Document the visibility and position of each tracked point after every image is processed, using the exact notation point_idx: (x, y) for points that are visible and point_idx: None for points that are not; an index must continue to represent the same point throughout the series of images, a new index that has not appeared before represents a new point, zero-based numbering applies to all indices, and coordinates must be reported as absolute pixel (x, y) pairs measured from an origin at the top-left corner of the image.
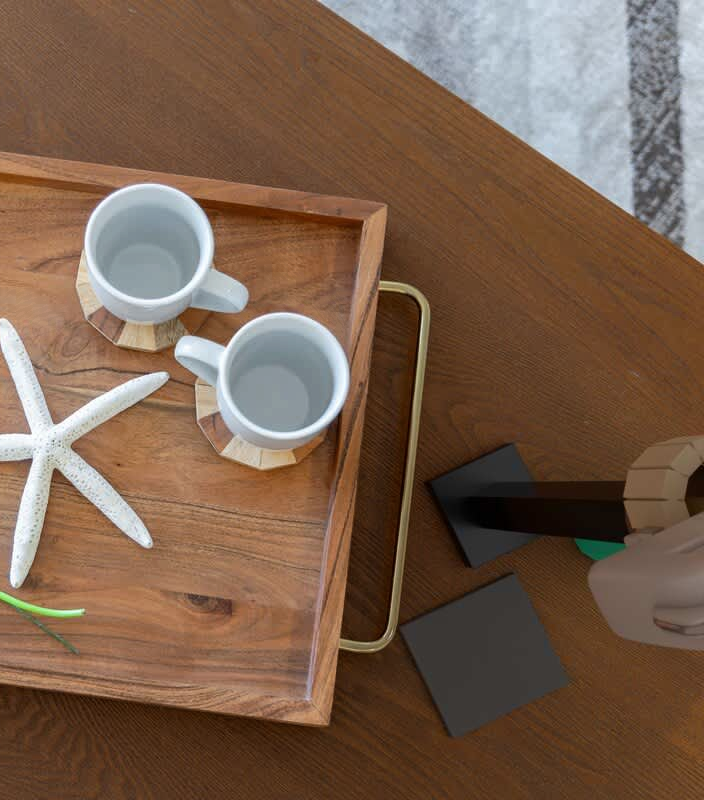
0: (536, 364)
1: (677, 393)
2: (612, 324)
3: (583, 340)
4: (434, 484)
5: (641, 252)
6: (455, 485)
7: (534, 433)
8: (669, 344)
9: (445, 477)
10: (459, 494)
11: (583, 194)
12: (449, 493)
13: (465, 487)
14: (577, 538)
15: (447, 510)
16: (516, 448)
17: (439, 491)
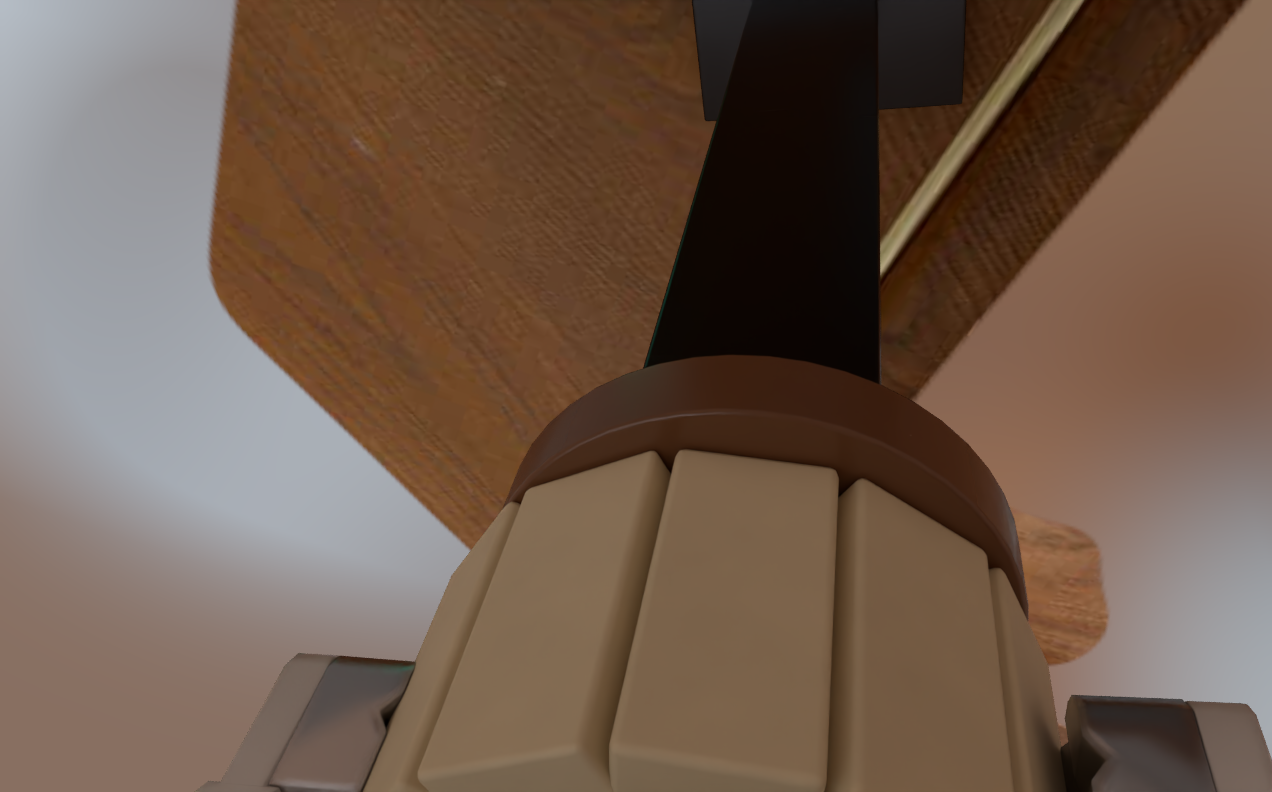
0: (576, 242)
1: (269, 69)
2: (389, 258)
3: (459, 251)
4: (954, 94)
5: (304, 357)
6: (902, 72)
7: (632, 101)
8: (273, 178)
9: (916, 100)
10: (902, 44)
11: (395, 477)
12: (927, 56)
13: (878, 57)
14: (877, 124)
15: (957, 15)
16: (704, 105)
17: (950, 71)
